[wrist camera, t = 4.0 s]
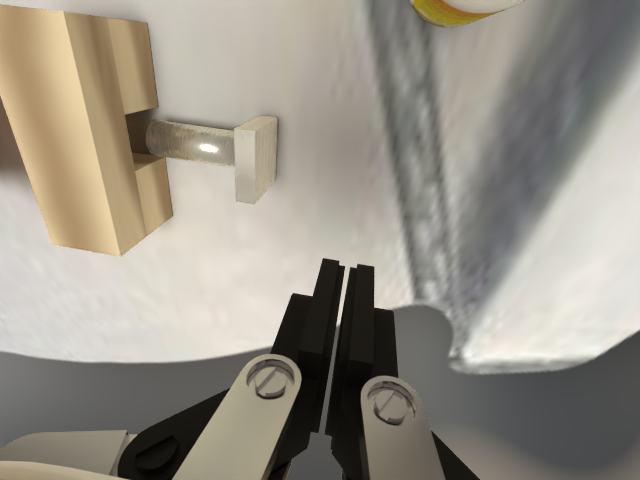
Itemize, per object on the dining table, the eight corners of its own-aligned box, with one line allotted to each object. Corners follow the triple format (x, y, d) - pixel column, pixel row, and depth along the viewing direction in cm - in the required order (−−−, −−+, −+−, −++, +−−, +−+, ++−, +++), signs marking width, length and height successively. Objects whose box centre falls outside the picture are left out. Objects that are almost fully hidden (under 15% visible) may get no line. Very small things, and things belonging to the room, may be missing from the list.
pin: (277, 117, 23) (254, 131, 18) (275, 179, 25) (254, 204, 21) (163, 101, 23) (116, 112, 19) (171, 163, 25) (130, 184, 21)
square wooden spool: (147, 23, 21) (63, 11, 16) (172, 215, 28) (120, 256, 22) (-100, -6, 23) (-258, -26, 17) (-19, 184, 29) (-113, 214, 24)
